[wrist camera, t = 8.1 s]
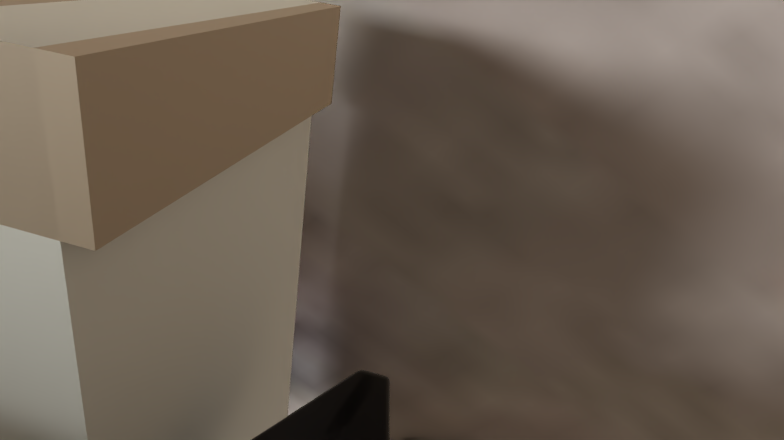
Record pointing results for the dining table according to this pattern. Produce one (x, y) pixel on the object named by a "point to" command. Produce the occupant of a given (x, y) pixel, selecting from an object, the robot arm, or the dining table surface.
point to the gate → (154, 212)
